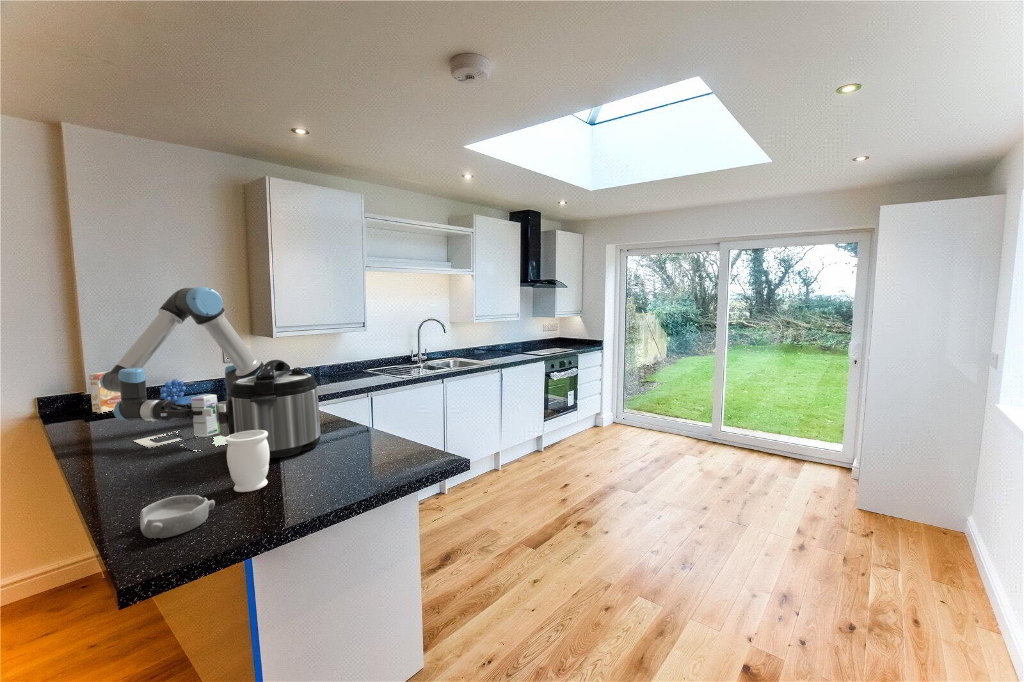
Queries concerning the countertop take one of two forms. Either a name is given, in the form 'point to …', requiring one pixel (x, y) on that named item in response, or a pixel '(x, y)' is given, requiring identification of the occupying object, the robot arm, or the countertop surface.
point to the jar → (248, 459)
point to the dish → (174, 515)
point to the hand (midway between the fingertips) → (218, 410)
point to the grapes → (172, 390)
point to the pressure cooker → (277, 408)
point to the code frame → (149, 444)
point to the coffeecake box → (102, 395)
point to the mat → (216, 441)
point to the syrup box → (206, 424)
